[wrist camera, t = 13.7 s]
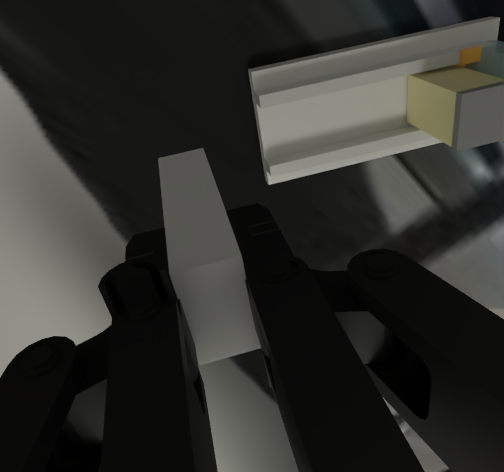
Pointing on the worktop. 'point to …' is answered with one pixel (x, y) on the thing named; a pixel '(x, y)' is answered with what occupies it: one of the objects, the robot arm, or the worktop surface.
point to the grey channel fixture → (358, 97)
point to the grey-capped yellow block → (457, 106)
